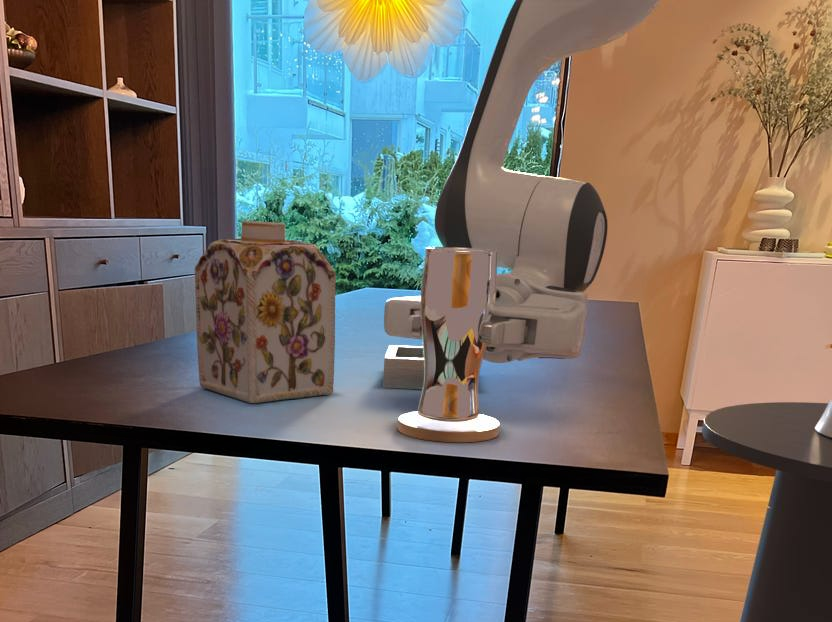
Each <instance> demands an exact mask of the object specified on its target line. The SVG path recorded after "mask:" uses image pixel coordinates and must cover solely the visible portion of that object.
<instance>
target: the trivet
mask: <svg viewBox="0 0 832 622" xmlns="http://www.w3.org/2000/svg"><path fill="white" fill-rule="evenodd" d="M417 411H418V410H417ZM417 411H411V412H410V411H409V412H405V413H403V414H401V415H399V417H398V418H397V430H398V432H400V433H401V434H403V435H405V436H408V437H411V438H414V439H419V440H424V441H430V442H439V443H476V442H477V443H478V442H484V441H488V440H492V439H494V438H497V437H498V436H499V434H500V426H501V425H500V421H499V420H497V419H496V418H494V417H491V416H488V415H485V414H479V417H478V418H477V419H475V420H472V421H464V422H447V421H437V420H431V419H427V418H424V417H421V416H420V415H419V414H418V412H417Z"/></svg>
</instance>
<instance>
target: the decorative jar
mask: <svg viewBox="0 0 832 622" xmlns="http://www.w3.org/2000/svg"><path fill="white" fill-rule="evenodd" d="M197 261H198V262H197V263H196V265H195V267H194V291H195V293H194V294H195V320H196V321H195V322H196V324H195V325H196V348H197V363H198V365H197V367H198V380H199V386H200V387H201V388H202V389H206V390H209V391H211V392H214V393H218V394H221V395H224V396H227V397H229V398H233V399H236V400H239V401H242V402H246V403H249V404H253V405H254V404H262V403H268V402H277V401H284V400H294V399H303V398H310V397H319V396H328V395H332V394H333V393H334V384H335V383H334V382H335V379H334V378H335V351H336V280H337V279H336V277H337V276H336V271H335V270H334V269H333V267H332V266H331V264H330V263H329V261H328V260H327V259H326V258H325V256H324V254H323V253H322V252H321V250H320V249H319V248H318V246H317V245H316V244H313V243H309V242H304V241H300V240H295V239H294V240H291V239H289V240H288V239H286V224H285V223H284V222H275V221H257V220H243V221H242V222H241V238H225V239H218V240H215V241H212V242H211V243H210V244H209V245H208V247H207V248H206V249H205V250H204V252H203V254H202V255H201V256H200V257H199V259H198V260H197Z"/></svg>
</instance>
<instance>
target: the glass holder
mask: <svg viewBox="0 0 832 622" xmlns="http://www.w3.org/2000/svg"><path fill="white" fill-rule="evenodd" d="M382 378H383V379H382V380H383V381H382V387H383V388H384V389H404V390H422V388H423V382H424V356H423V346H418V345H417V346H416V345H397V344H395V345H394V344H391V345H390V344H389V345H388V348H387V350H386V353H385V355H384V358H383V377H382Z"/></svg>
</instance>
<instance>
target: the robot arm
mask: <svg viewBox="0 0 832 622" xmlns="http://www.w3.org/2000/svg"><path fill="white" fill-rule="evenodd" d="M659 2H660V0H515V1H514V2H513V4H512V6H511V8H510V10H509V12H508V14H507V17H506V19H505V22H504V24H503V27H502V29H501V32H500V34H499V36H498V40H497V42H496V44H495V47H494V50H493V54H492V56H491V59H490V62H489V65H488V67H487V70H486V73H485V76H484V79H483V82H482V85H481V88H480V91H479V94H478V97H477V100H476V102H475V106H474V108H473V112H472V114H471V117H470V121H469V123H468V126H467V130H466V132H465V135H464V138H463V141H462V143H461V146H460V149H459V152H458V155H457V156H456V159H455V161H454V164H453V166H452V168H451V169H450V172H449V174H448V176H447V178H446V180H445V183H444V185H443V187H442V190H441V191H440V195H439V197H438V201H437V203H436V208H435V214H434V231H435V233H436V235H437V238H438V240H439V243H440V244H441V247H460V248H479V249H490V250H497V251H498V256H497V268H502V269H506V270H511V271H510V272H505V273H497V288H496V301H495V308H494V315H493V320H492V323H488V324H486V325H485V327H484V330H483V334H482V338H481V342H482V343H484V344H487V345H486V349H485V352H484V356H483V360H484V361H486V362H489V363H493V364H506V363H511V362H513V361H518V362H521V361H525V360H530V359H559V360H565V359H569V360H572V359H576V358H578V357H580V354H581V352H582V351H581V350H582V348H583V347H582V346H583V343H584V337H585V332H586V326H587V317H588V293H586V290H587V289H588V288H589V287H590V286H591V284H593V282H594V280H595V279H596V276H597V273H598V271H599V268H600V266H601V263H602V260H603V257H604V252H605V248H606V242H607V236H608V228H609V227H608V226H609V225H608V217H607V212H606V209H605V206H604V204H603V201H602V200H601V196H600V195H599V193H598V191H597V189H596V188H595V187H594V185H592V183H590V182H585V181H580V180H575V179H569V178H564V177H554V176H552V175H550V176H549V175H548V176H547V175H546V176H545V175H537V174H532V173H526V172H520V171H515V170H514V171H513V170H510V169H506V168H504V161H505V158H506V155H507V152H508V149H509V147H510V144H511V141H512V139H513V136H514V134H515V131H516V128H517V125H518V122H519V119H520V116H521V114H522V111H523V109H524V105H525V103H526V100H527V97H528V95H529V92H530V91H531V89H532V87H533V85H534V83H535V82H536V81H537V80H538V78H539V77H540V76H541V75H542V74H543V73H544V72H545V71H547V69H549V68H551V67H552V66H553V65H555V64H558V63H559V62H560V61H563V60H565V59H567V58H569V57H572V56H574V55H578V54H581V53H582V52H587V51H589V50H590V51H591V50H593V49H595V48H599V47H602V46H605V45H608V44H610V43H612V42H615V41H617V40H618V39H620V38H622V37H624V36H625V35H627V34H628V33H630V32H631V31H633V30H634V29H636V28H637V27H638V26H639V25H640V24H642V22H644V21H645V20H646V19H647V18H648V16H650V14H652V12H653V11H654V9H656V7H657V5H658V4H659ZM420 297H421V295H415V296H414V295H413V296H402V297H392V298H389V299H387V300H386V302H385V303H384V304H385V305H384V311H383V312H384V313H383V329H384V333H385V334H386V335H387V336H388V337H389V336H390V337H394V338H403V339H404V338H406V339H412V340H413V339H414V340H422V335H421V322H420ZM827 403H828V405H827V407H826V409H825V411H824V413H823V415H822V416H821V418H820V420H819V421H818V423H817V424H816V426H815V430H816V431H818V432H819V433H821V434H823V435H825V436H828V437H830V438H832V396H831V398H830V399H829V402H827Z"/></svg>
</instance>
